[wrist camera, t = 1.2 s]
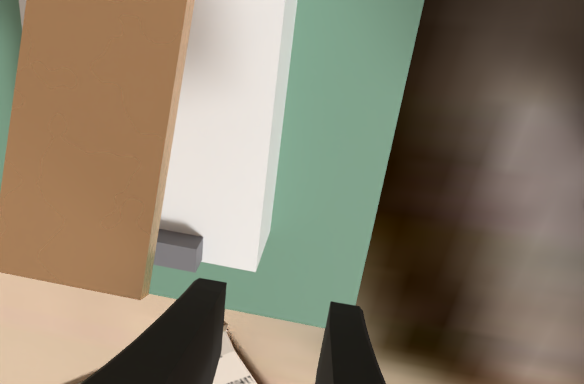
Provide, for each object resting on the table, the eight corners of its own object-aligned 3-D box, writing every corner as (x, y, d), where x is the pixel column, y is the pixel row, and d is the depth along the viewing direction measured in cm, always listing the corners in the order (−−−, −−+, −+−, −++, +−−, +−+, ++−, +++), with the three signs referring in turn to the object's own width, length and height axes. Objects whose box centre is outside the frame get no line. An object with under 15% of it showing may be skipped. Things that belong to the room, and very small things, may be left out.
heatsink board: (546, -554, 12) (625, -780, 8) (350, 320, 25) (342, 406, 21) (-115, -602, 14) (-338, -821, 9) (15, 255, 26) (-55, 323, 22)
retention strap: (223, -181, 14) (217, -196, 13) (148, 294, 14) (140, 300, 14) (67, -201, 14) (56, -217, 13) (4, 265, 15) (-11, 269, 14)
